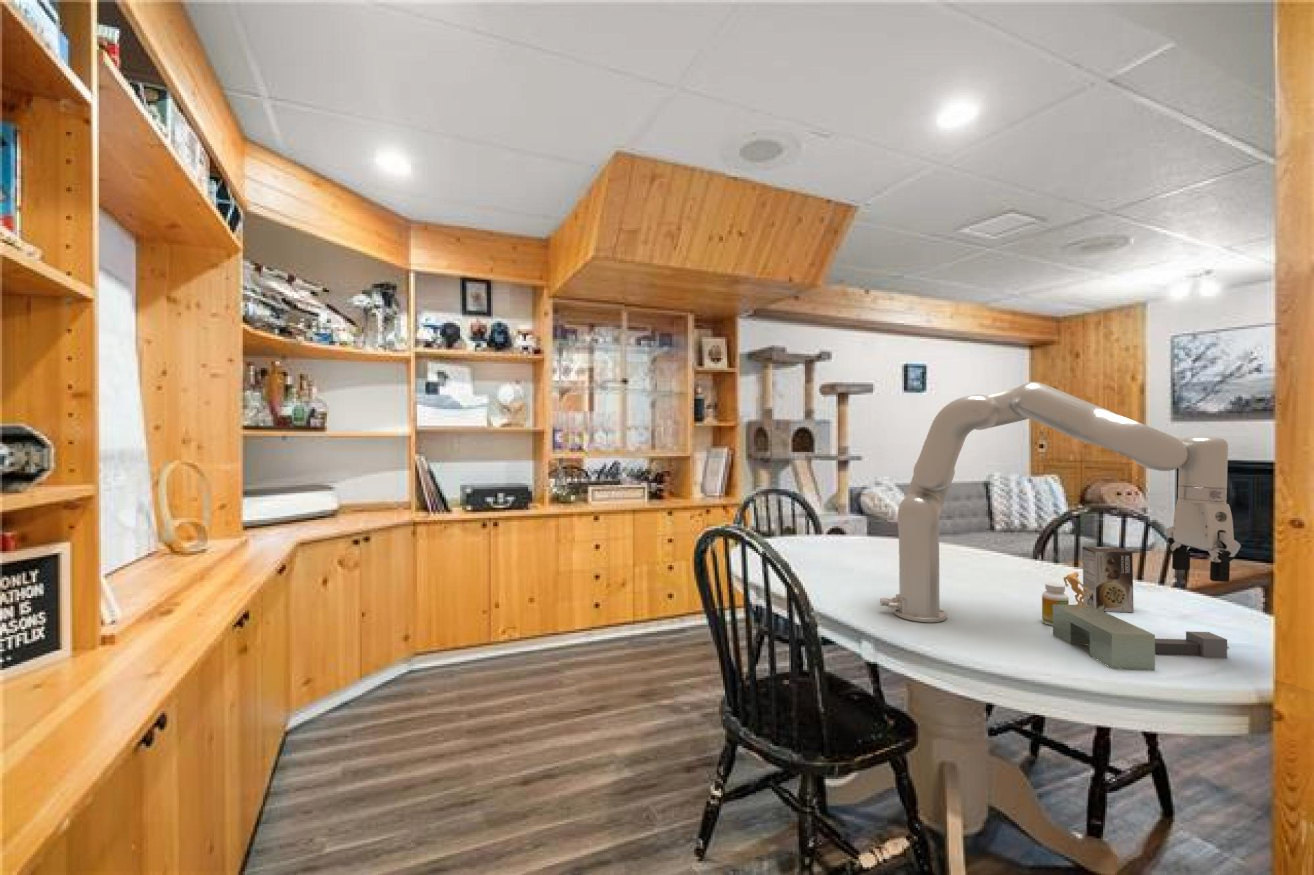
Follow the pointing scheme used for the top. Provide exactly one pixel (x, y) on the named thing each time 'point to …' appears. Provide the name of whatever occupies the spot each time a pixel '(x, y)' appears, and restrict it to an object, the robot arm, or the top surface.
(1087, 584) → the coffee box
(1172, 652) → the long grey beam
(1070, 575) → the figurine
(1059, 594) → the supplement bottle
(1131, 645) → the notched grey-green block
